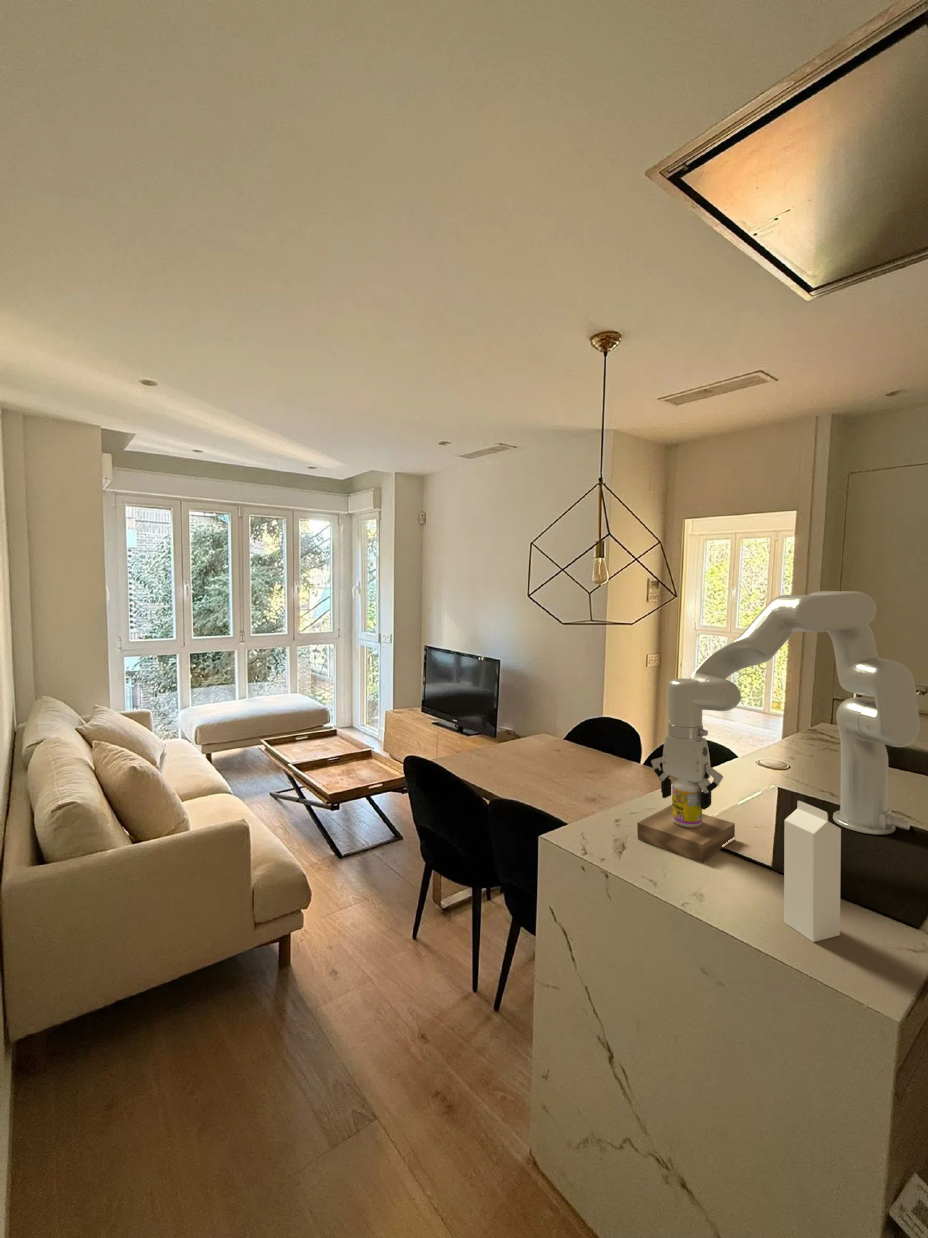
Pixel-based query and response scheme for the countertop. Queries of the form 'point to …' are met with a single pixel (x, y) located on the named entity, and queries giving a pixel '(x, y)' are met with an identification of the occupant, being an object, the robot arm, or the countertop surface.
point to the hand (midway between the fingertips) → (685, 802)
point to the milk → (812, 873)
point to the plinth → (686, 834)
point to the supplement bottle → (686, 803)
